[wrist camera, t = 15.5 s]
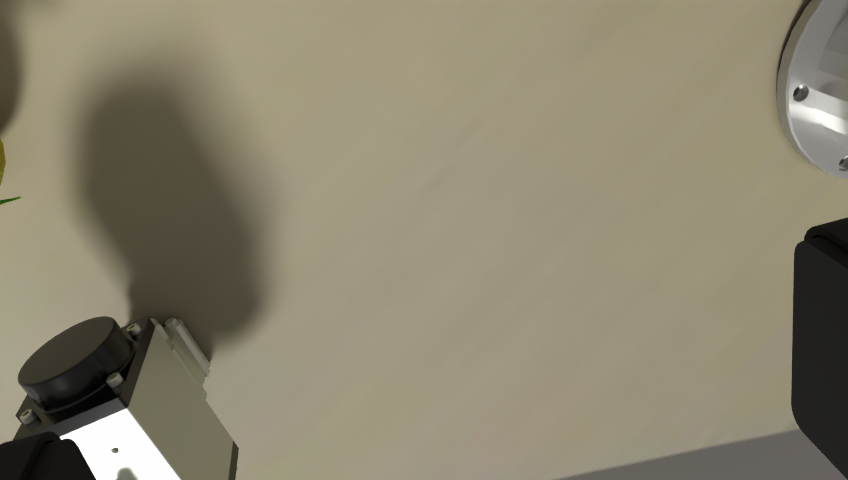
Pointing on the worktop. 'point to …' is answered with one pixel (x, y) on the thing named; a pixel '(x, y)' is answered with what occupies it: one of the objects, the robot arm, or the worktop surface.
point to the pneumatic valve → (128, 401)
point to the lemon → (0, 169)
